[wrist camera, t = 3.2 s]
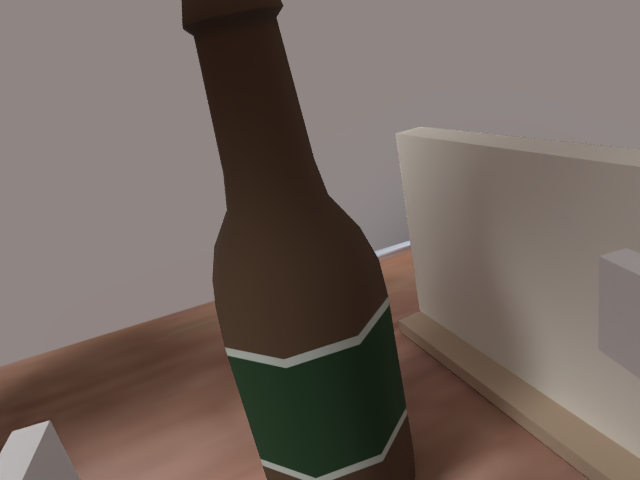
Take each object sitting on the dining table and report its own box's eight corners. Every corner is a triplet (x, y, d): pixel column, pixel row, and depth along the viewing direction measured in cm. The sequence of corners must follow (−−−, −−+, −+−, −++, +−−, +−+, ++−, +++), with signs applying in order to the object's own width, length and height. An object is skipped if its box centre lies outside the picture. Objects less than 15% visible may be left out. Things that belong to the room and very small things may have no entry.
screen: (399, 330, 38) (370, 141, 32) (461, 303, 40) (443, 119, 34) (663, 537, 20) (697, 198, 15) (751, 470, 22) (810, 147, 17)
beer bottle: (332, 593, 21) (154, -34, 12) (246, 486, 27) (86, 19, 18) (450, 480, 25) (381, -54, 16) (351, 409, 31) (262, -5, 22)
